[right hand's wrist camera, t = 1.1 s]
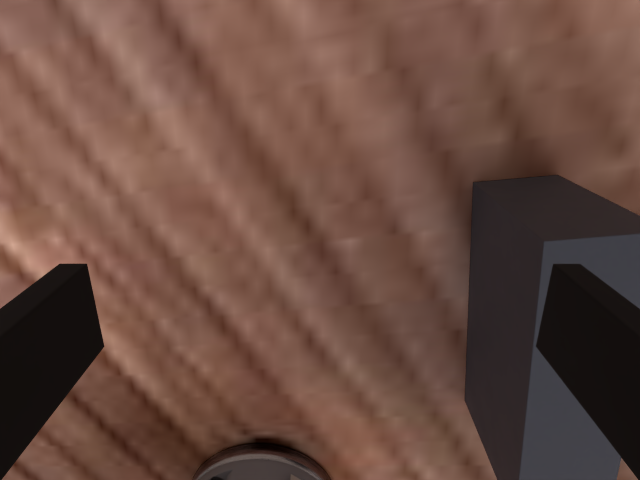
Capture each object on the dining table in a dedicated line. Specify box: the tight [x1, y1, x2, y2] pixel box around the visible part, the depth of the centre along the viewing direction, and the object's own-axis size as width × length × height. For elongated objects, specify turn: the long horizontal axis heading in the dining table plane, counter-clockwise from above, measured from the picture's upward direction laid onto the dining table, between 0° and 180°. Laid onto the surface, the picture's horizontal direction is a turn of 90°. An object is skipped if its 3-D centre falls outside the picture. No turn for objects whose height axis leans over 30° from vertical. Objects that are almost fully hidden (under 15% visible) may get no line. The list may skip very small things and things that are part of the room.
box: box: [465, 175, 640, 480], centre depth 32 cm, size 21×6×12 cm, turn 5°
